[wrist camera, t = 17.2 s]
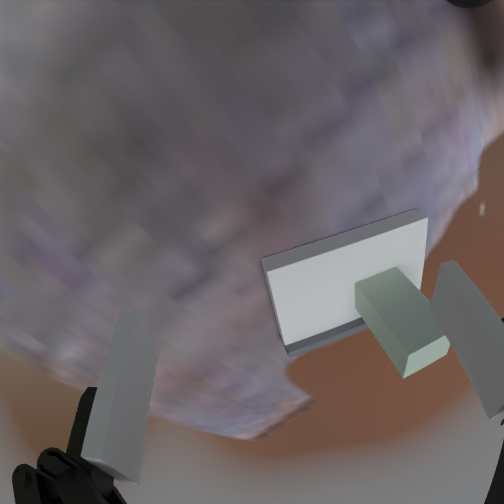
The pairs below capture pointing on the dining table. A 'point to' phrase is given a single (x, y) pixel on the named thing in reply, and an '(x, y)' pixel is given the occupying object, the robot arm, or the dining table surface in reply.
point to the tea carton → (400, 320)
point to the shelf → (339, 278)
